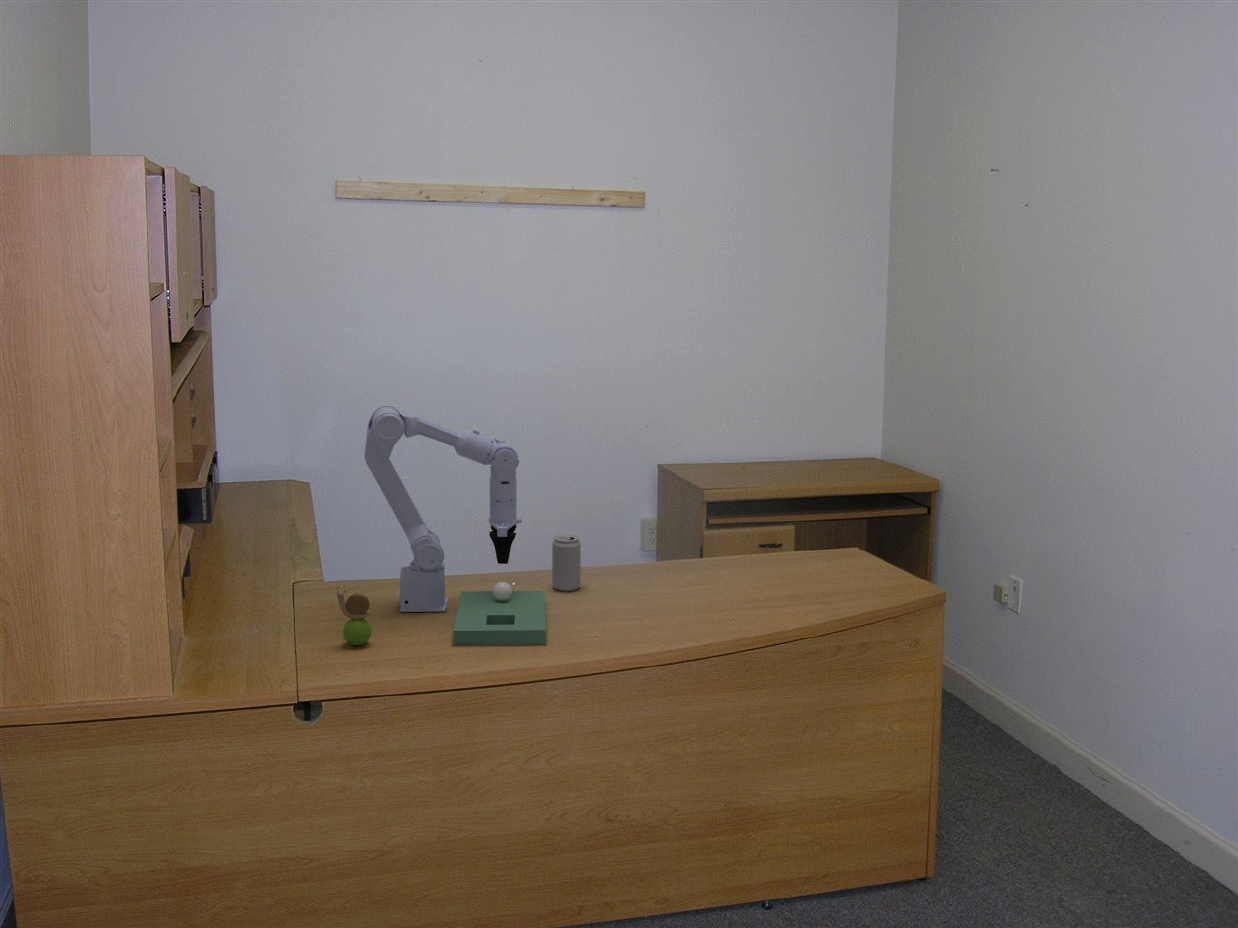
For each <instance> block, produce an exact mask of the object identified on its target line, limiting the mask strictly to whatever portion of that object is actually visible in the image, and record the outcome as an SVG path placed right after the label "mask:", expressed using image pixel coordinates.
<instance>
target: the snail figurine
mask: <svg viewBox="0 0 1238 928" xmlns="http://www.w3.org/2000/svg"><path fill="white" fill-rule="evenodd" d="M340 588H341V586H340V585H336V586H335V589H336V590H337V592H336V598H337V599H338V603H339V604H338V605H339V608H340V610H341V613H343V615H344V616H346V617H347V618H350V619H349V620H347V621H346V623H345V624H344V626H343V630H342V635H343V638H344V641H346V643H348V644H350V645H352V646H362V645H364V644H366V643H367V642H369V640H370V638H371V637H372V633H373V631H372V629H373V628H372V626H371V624H370V622H369V621H368V620H367V619H366V618H368V617H369V615H370V614H371V612H368V611H369V609H370V606H371V603H370V600H369V598H368V597H367V596H366V595H365V594H362V593H357V592H356V593H353V594H351V595H350V596H348V598H347V599H346V601H345V598H344V597H345V593H344V592H343V591H341V590H339V589H340Z"/></svg>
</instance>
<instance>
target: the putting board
mask: <svg viewBox="0 0 1238 928" xmlns="http://www.w3.org/2000/svg"><path fill="white" fill-rule="evenodd" d="M546 617H547V616H546V592H545V590H512V593H511V596H510V597H509V598H508V599H507V600H505V601H500V600H497V599H496V598H495V597H494V595H493V590H492V591H491V590H490V591H489V590H488V591H487V590H485V591H484V590H483V591H482V590H479V591H478V590H477V591H476V590H475V591H467V590H466V591H465V590H463V591H461V592H460V595H459V601H458V605H457V611H456V614H455V620H454V625H453V631H452V635H453V636H452V643H453V646H520V645H521V646H532V645H533V646H538V645H539V646H541V645H547V641H546V640H547V626H546V625H547V623H546V622H547V621H546Z"/></svg>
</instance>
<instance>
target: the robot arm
mask: <svg viewBox="0 0 1238 928" xmlns="http://www.w3.org/2000/svg"><path fill="white" fill-rule="evenodd" d="M366 428H367V429H366V437H365V438H366V439H365V447H364V456H363V457H364V460H365V463H366V465H367V467H368V468H369V470H370V472H371V474H372V476H373V478H374V479H375V481H376V483H377V486H379V488H380V490H381V492H382V494H383V495H384V497H385V499H386V501H387V503H388V505H389V506H390V508H391V510H392V511H393V513H394V515H395V517H396V519H397V522H399V524H400V526H401V528H402V530H403V532H404V533H405V536H406V537H407V540H408V542H409V544H410V551H411V552H412V554H413V555H412V556H413V559H412V561H411V562H410V565H409V566H408V565H407V566H401V569H400V573H399V574H400V575H399V577H400V578H399V588H400V589H399V600H400V608H399V609H400V612H401V613H409V612H410V613H418V612H419V613H421V612H422V613H423V612H424V613H429V612H430V613H432V612H434V613H435V612H438V613H440V612H441V613H442V612H446V610H447V607H448V602H449V598H448V597H446V581H445V579H446V576H445V575H446V574H445V572H446V571H445V567H446V566H445V562H444V560H445V551H444V549H443V547H442V546H441V541H440V538H439V536H438V535H437V534H436V533H434V532H432V530H430V529H429V528H428V526H427V523H426V522H425V521H424V519H423V518H422V515H421V513H420V511H419V510H418V509H417V506H416V504H415V503H414V501H413V500H412V498H411V495H410V494H409V492H408V490H407V488H406V487H405V485H404V483H403V481H402V480H401V477H400V476H399V474H398V471H397V470H396V469H395V467H394V464H393V463H392V461H391V459H390V457H391V454H392V452H393V450H394V446H395V445H396V444H397V443H398V442H399V440H400V439H401V438H402V437H403V435H404V436H405V438H406V439H409V438H412V437H415V436H423V437H425V438H428V439H431V440H434V441H436V442H440V443H443V444H446V445H449V446H451V447H454V450H455V452H456V455H457V456H461V457H463V458H466V459H468V460H470V461H473V462H476V463H479V464H482V465H484V466H487V465H489V466H490V467H489V468H490V470H489V472H490V478H489V519H488V524H490V529H491V530H489V537H490V539H491V542H492V544H493V547H494V551H495V557H496V561H497V564H498V565H508V563H509V559H510V553H511V550H512V549H511V548H512V545H513V542H514V541H515V538H516V535H517V532H515V531H516V529H517V524H522V521H523V518H522V517H517V479H518V478H517V477H516V476H517V475H516V474H517V468H518V467H519V464H520V459H519V456H518V454H517V452H516V450H515V449H514V448H513V447H512V445H510V444H508V443H506V442H505V441H504V440H500V439H499V438H496V437H495V438H494V439H493V438H490V437H489V436H486V435H483V434H480V430H479V429H476V428H473V429H472V430H471V429H465V430H462V431H456V430H454V429H452V428H449V427H447V426H445V425H442V424H440V423H438V422H435V421H433V420H431V419H429V418H427V417H424V416H422V415H419V414H417V413H414V412H411V411H408V410H405V409H400V408H399V410H398V409H397V408H395V407H394V406H390V405H382V406H379V407H378V408H376V409H375V410H374V411H373V413H372V415H371V416H370V419H369V421H368V423H367V427H366Z"/></svg>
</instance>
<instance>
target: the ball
mask: <svg viewBox="0 0 1238 928" xmlns="http://www.w3.org/2000/svg"><path fill="white" fill-rule="evenodd" d="M492 591H493V595H494V597H495V598H496V599H497V600H500V601H505V600H507V599H508V598H509V597H510V596H511V593H512V591H513V589H512V587H511V585H510V584H509V583H508V582H506V581H499V582H497V583H496V584H495V585H494V586H493V588H492Z"/></svg>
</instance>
